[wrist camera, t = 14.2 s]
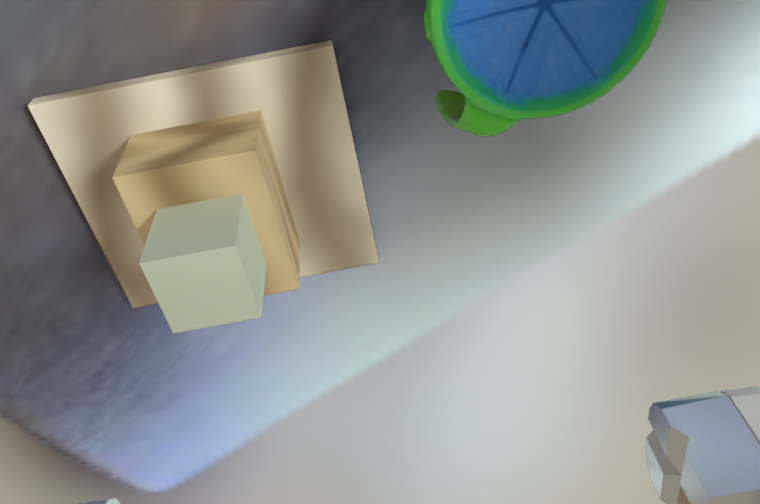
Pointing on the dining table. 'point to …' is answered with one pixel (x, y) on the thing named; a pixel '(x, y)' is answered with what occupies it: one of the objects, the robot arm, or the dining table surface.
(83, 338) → the dining table surface
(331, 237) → the foundation base
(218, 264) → the sage cube
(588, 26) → the snack cup
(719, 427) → the robot arm
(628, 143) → the dining table surface
